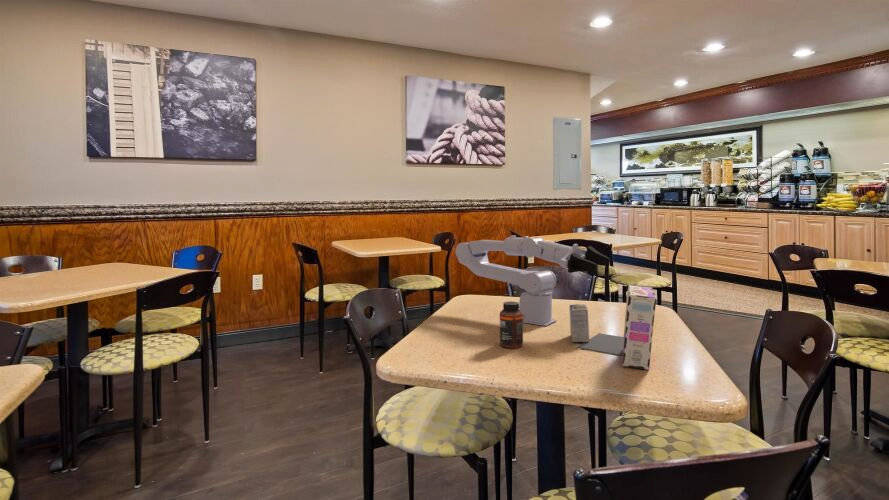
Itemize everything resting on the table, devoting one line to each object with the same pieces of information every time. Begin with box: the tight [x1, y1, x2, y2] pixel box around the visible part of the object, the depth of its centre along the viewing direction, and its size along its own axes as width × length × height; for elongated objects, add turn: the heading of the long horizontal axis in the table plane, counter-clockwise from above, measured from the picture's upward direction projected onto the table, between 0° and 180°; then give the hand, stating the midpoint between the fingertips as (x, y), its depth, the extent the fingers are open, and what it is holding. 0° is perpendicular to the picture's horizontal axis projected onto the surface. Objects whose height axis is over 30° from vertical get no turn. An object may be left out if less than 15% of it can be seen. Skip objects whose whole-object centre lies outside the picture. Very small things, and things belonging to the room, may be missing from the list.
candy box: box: [622, 284, 657, 371], centre depth 115 cm, size 14×6×16 cm, turn 160°
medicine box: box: [569, 303, 590, 343], centre depth 133 cm, size 8×4×9 cm, turn 168°
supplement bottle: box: [499, 300, 524, 350], centre depth 127 cm, size 6×6×11 cm
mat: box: [576, 333, 624, 357], centre depth 128 cm, size 11×16×1 cm
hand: (602, 265), depth 136 cm, fingers open, 7 cm apart
